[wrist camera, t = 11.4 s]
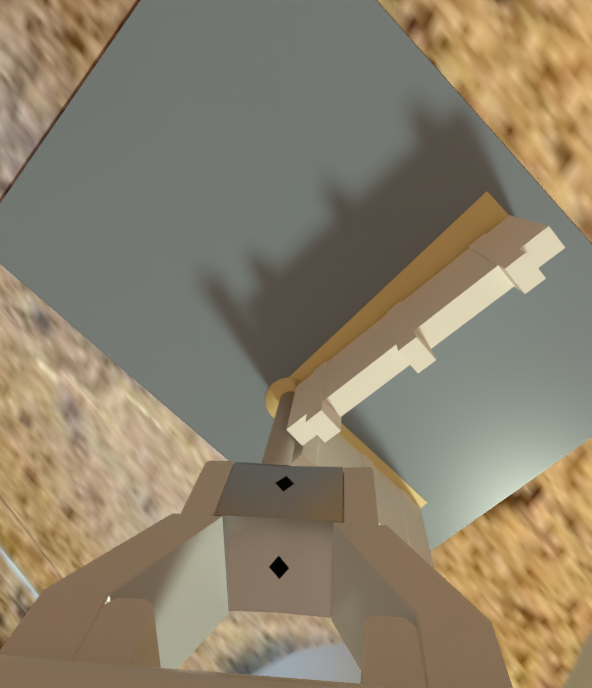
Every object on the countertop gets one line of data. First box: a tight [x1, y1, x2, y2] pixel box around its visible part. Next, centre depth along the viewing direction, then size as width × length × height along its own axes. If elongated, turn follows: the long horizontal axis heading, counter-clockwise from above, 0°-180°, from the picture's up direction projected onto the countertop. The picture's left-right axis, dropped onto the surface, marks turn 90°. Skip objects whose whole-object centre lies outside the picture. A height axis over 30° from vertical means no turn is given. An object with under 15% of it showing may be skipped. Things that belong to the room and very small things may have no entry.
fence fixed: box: [262, 391, 434, 568], centre depth 28 cm, size 12×1×8 cm, turn 46°
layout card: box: [0, 0, 592, 551], centre depth 29 cm, size 34×24×1 cm
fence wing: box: [286, 215, 565, 446], centre depth 25 cm, size 15×1×6 cm, turn 132°
